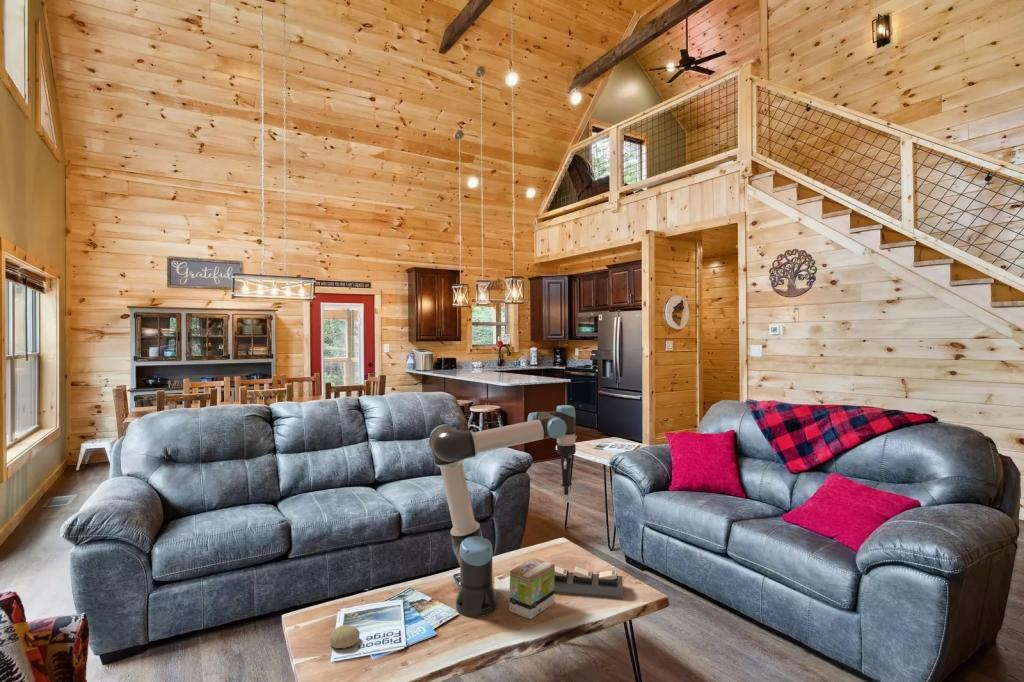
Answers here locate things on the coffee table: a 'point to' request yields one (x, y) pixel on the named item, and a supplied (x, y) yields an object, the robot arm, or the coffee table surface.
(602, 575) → the rocker
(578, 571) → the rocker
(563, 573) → the rocker
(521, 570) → the tea box
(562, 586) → the rocker switch panel
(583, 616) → the coffee table surface
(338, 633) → the brown kiwi fruit
